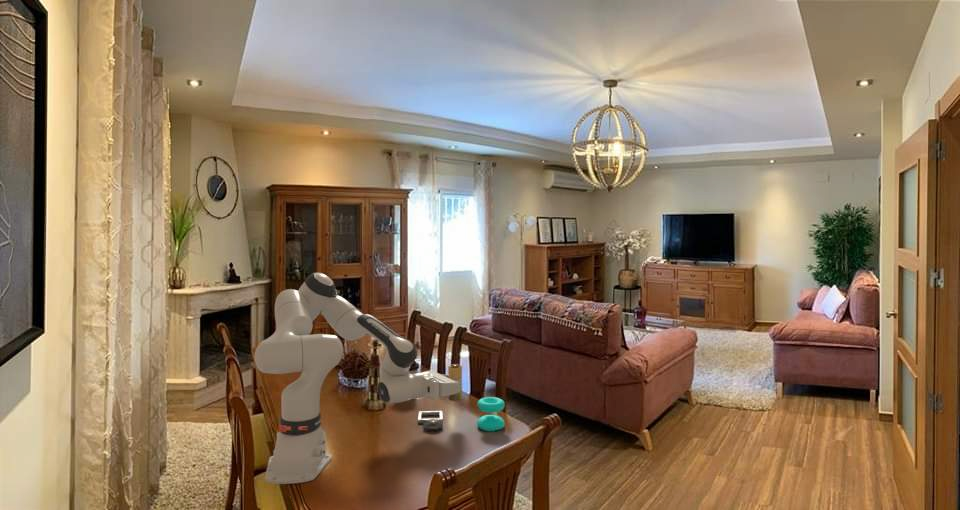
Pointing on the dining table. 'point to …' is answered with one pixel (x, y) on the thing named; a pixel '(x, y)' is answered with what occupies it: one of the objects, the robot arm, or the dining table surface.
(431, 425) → the carrier
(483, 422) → the donuts
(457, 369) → the tan bottle
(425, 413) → the ring seat
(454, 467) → the dining table surface
